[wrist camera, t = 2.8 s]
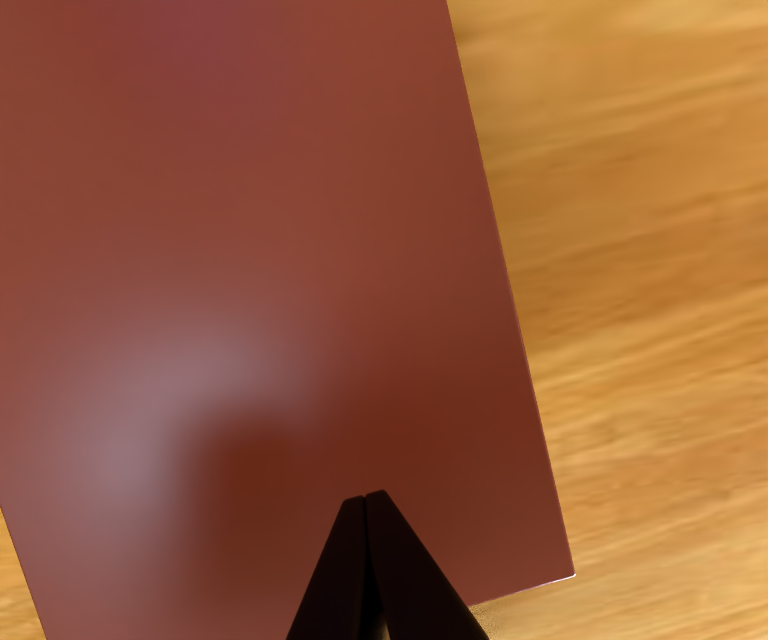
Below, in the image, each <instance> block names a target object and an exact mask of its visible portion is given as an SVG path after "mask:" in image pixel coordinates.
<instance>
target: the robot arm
mask: <svg viewBox="0 0 768 640" xmlns="http://www.w3.org/2000/svg"><path fill="white" fill-rule="evenodd" d="M285 640H489V637H488V636H487V635H486V633H485V632H484V630H483V629H482V627H481V626H480V624H479V623H478V622H477V620H476V619H475V617H474V616H473V614H472V613H471V612H470V610H469V609H468V607H467V606H466V604H465V603H464V602H463V600H462V599H461V597H460V596H459V594H458V593H457V592H456V590H455V589H454V587H453V586H452V584H451V583H450V582H449V580H448V579H447V577H446V576H445V574H444V573H443V572H442V570H441V569H440V567H439V566H438V564H437V563H436V562H435V560H434V559H433V557H432V556H431V554H430V553H429V552H428V550H427V549H426V547H425V546H424V544H423V543H422V541H421V540H420V539H419V537H418V536H417V534H416V533H415V531H414V530H413V529H412V527H411V526H410V524H409V523H408V521H407V520H406V519H405V517H404V516H403V514H402V513H401V511H400V510H399V509H398V507H397V506H396V504H395V503H394V501H393V500H392V499H391V497H390V496H389V494H388V493H387V492H386V491H385V490H384V489H381V490H378V491H374V492H370V493H367V494H366V495H365V497H364V496H363V495H359V496H355V497H351V498H347V499H345V500H344V501H343V502H342V504H341V507H340V509H339V511H338V514H337V516H336V519H335V521H334V524H333V526H332V528H331V531H330V533H329V536H328V538H327V540H326V543H325V545H324V548H323V550H322V552H321V555H320V557H319V560H318V562H317V564H316V567H315V569H314V572H313V574H312V576H311V579H310V581H309V584H308V586H307V589H306V591H305V593H304V596H303V598H302V601H301V603H300V605H299V608H298V610H297V613H296V615H295V617H294V620H293V622H292V625H291V627H290V629H289V632H288V634H287V637H286V639H285Z"/></svg>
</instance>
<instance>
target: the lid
mask: <svg viewBox="0 0 768 640" xmlns="http://www.w3.org/2000/svg"><path fill="white" fill-rule="evenodd" d="M381 489H384V490H385V491H386V492H387V493H388V494H389V496H390V497H391V499H392V500H393V501H394V503H395V504H396V506H397V507H398V509H399V510H400V511H401V513H402V514H403V516H404V517H405V519H406V520H407V521H408V523H409V524H410V526H411V527H412V529H413V530H414V531H415V533H416V534H417V536H418V537H419V539H420V540H421V541H422V543H423V544H424V546H425V547H426V549H427V550H428V552H429V553H430V554H431V556H432V557H433V559H434V560H435V562H436V563H437V564H438V566H439V567H440V569H441V570H442V572H443V573H444V574H445V576H446V577H447V579H448V580H449V582H450V583H451V584H452V586H453V587H454V589H455V590H456V592H457V593H458V594H459V596H460V597H461V599H462V600H463V602H464V603H465V604H466V606H467V607H469V606H473V605H476V604H480V603H483V602H486V601H490V600H493V599H497V598H500V597H504V596H507V595H511V594H514V593H518V592H521V591H525V590H528V589H532V588H535V587H539V586H542V585H546V584H549V583H553V582H556V581H560V580H563V579H567V578H570V577H574V576H575V570H574V565H573V561H572V557H571V552H570V548H569V543H568V539H567V534H566V530H565V525H564V521H563V517H562V512H561V508H560V503H559V499H558V494H557V490H556V486H555V481H554V477H553V472H552V468H551V463H550V459H549V454H548V450H547V446H546V441H545V437H544V432H543V428H542V423H541V419H540V415H539V410H538V406H537V401H536V397H535V392H534V388H533V383H532V379H531V375H530V370H529V366H528V361H527V357H526V352H525V348H524V344H523V339H522V335H521V330H520V326H519V321H518V317H517V313H516V308H515V304H514V299H513V295H512V290H511V286H510V281H509V277H508V273H507V268H506V264H505V259H504V255H503V250H502V246H501V242H500V237H499V233H498V228H497V224H496V219H495V215H494V210H493V206H492V202H491V197H490V193H489V188H488V184H487V179H486V175H485V171H484V166H483V162H482V157H481V153H480V148H479V144H478V139H477V135H476V131H475V126H474V122H473V117H472V113H471V108H470V104H469V100H468V95H467V91H466V86H465V82H464V77H463V73H462V68H461V64H460V60H459V55H458V51H457V46H456V42H455V37H454V33H453V29H452V24H451V20H450V15H449V11H448V6H447V2H446V0H0V508H1V510H2V513H3V516H4V519H5V522H6V525H7V528H8V530H9V533H10V536H11V539H12V542H13V545H14V548H15V550H16V553H17V556H18V559H19V562H20V565H21V568H22V570H23V573H24V576H25V579H26V582H27V585H28V588H29V590H30V593H31V596H32V599H33V602H34V605H35V608H36V611H37V613H38V616H39V619H40V622H41V625H42V628H43V631H44V633H45V636H46V639H47V640H285V639H286V637H287V634H288V632H289V629H290V627H291V625H292V622H293V620H294V617H295V615H296V613H297V610H298V608H299V605H300V603H301V601H302V598H303V596H304V593H305V591H306V589H307V586H308V584H309V581H310V579H311V576H312V574H313V572H314V569H315V567H316V564H317V562H318V560H319V557H320V555H321V552H322V550H323V548H324V545H325V543H326V540H327V538H328V536H329V533H330V531H331V528H332V526H333V524H334V521H335V519H336V516H337V514H338V511H339V509H340V507H341V504H342V502H343V501H344V500H345V499H347V498H351V497H355V496H359V495H363V496H364V497H365V495H366V494H367V493H370V492H374V491H378V490H381Z"/></svg>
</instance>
